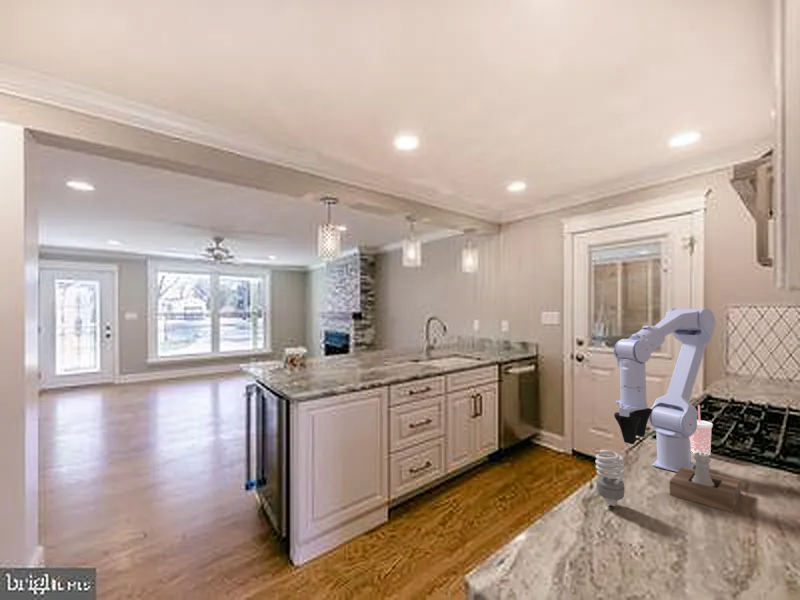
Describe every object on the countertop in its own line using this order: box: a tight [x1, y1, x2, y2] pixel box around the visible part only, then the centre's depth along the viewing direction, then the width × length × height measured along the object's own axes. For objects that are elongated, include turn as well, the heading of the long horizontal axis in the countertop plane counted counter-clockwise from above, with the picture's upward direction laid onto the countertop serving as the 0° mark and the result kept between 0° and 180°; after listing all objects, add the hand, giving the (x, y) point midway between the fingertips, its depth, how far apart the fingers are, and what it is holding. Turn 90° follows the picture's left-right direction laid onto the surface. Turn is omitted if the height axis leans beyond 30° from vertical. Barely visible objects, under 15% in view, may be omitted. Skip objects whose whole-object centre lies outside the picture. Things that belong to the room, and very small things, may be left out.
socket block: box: [669, 467, 741, 513], centre depth 89 cm, size 12×11×3 cm
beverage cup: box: [689, 404, 714, 456], centre depth 114 cm, size 6×6×14 cm
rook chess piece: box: [691, 452, 715, 487], centre depth 90 cm, size 4×4×8 cm
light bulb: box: [595, 449, 626, 507], centre depth 85 cm, size 6×6×12 cm
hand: (634, 439), depth 99 cm, fingers open, 7 cm apart
